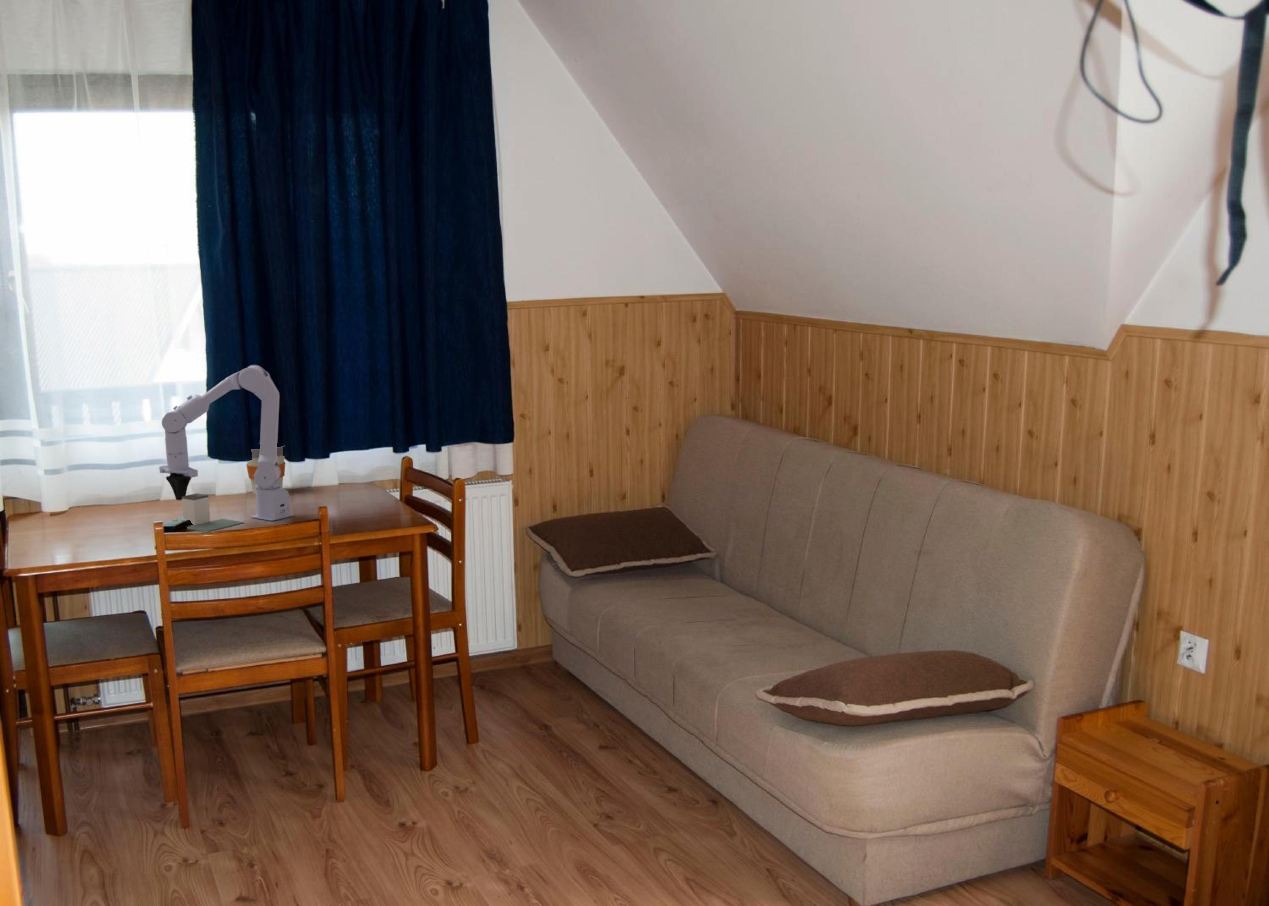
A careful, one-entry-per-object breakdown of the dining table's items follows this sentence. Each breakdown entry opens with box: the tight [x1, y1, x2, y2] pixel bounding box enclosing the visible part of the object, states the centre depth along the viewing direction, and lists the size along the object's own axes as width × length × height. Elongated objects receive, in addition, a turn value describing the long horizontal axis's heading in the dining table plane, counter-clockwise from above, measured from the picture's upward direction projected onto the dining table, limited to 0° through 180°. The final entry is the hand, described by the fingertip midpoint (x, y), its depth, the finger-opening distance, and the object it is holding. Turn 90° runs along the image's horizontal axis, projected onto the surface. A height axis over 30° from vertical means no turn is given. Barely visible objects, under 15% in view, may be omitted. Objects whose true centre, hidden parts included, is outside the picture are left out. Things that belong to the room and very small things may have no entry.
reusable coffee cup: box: [246, 445, 286, 495], centre depth 374 cm, size 13×13×15 cm
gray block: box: [181, 492, 211, 526], centre depth 331 cm, size 5×5×8 cm
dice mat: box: [186, 518, 245, 532], centre depth 327 cm, size 9×13×1 cm
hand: (180, 499), depth 334 cm, fingers closed
